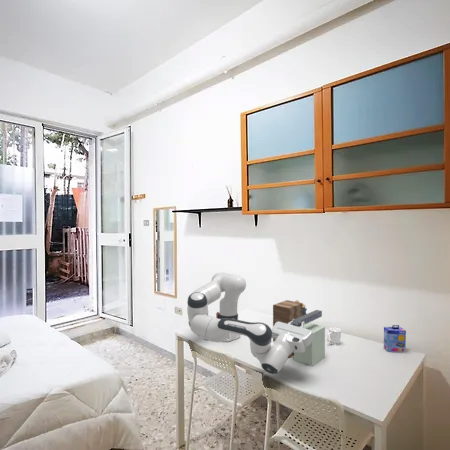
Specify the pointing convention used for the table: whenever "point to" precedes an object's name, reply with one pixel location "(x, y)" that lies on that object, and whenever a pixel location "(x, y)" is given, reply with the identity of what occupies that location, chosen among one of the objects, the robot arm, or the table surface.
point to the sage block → (313, 346)
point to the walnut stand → (287, 313)
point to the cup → (334, 335)
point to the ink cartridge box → (394, 339)
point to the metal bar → (307, 318)
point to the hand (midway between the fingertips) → (299, 321)
